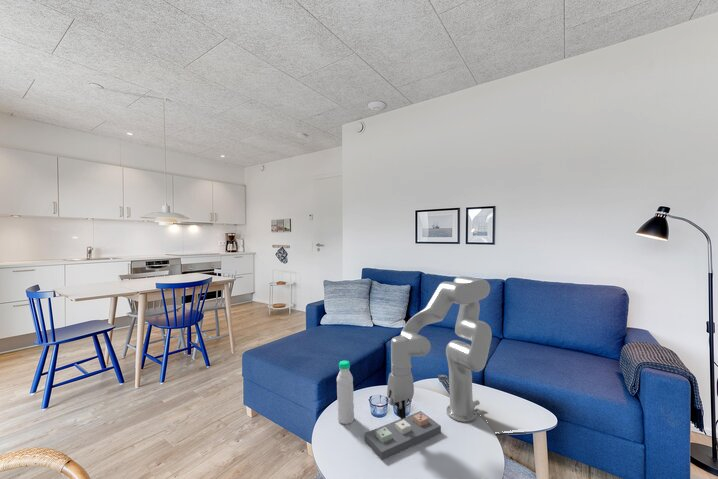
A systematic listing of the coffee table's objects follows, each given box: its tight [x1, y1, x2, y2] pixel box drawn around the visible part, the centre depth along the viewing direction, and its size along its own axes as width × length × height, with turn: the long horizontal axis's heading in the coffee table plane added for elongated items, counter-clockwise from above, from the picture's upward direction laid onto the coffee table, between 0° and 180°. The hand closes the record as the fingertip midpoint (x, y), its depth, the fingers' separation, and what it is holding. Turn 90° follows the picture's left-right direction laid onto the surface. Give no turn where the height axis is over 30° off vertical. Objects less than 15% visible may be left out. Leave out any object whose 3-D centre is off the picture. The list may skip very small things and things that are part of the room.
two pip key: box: [376, 427, 392, 444], centre depth 113 cm, size 4×4×4 cm
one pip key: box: [395, 420, 411, 435], centre depth 117 cm, size 4×4×4 cm
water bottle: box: [336, 360, 355, 425], centre depth 130 cm, size 7×7×25 cm
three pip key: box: [413, 413, 430, 427], centre depth 122 cm, size 4×4×4 cm
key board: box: [364, 410, 442, 461], centre depth 117 cm, size 28×12×3 cm, turn 119°
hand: (401, 416), depth 117 cm, fingers closed
